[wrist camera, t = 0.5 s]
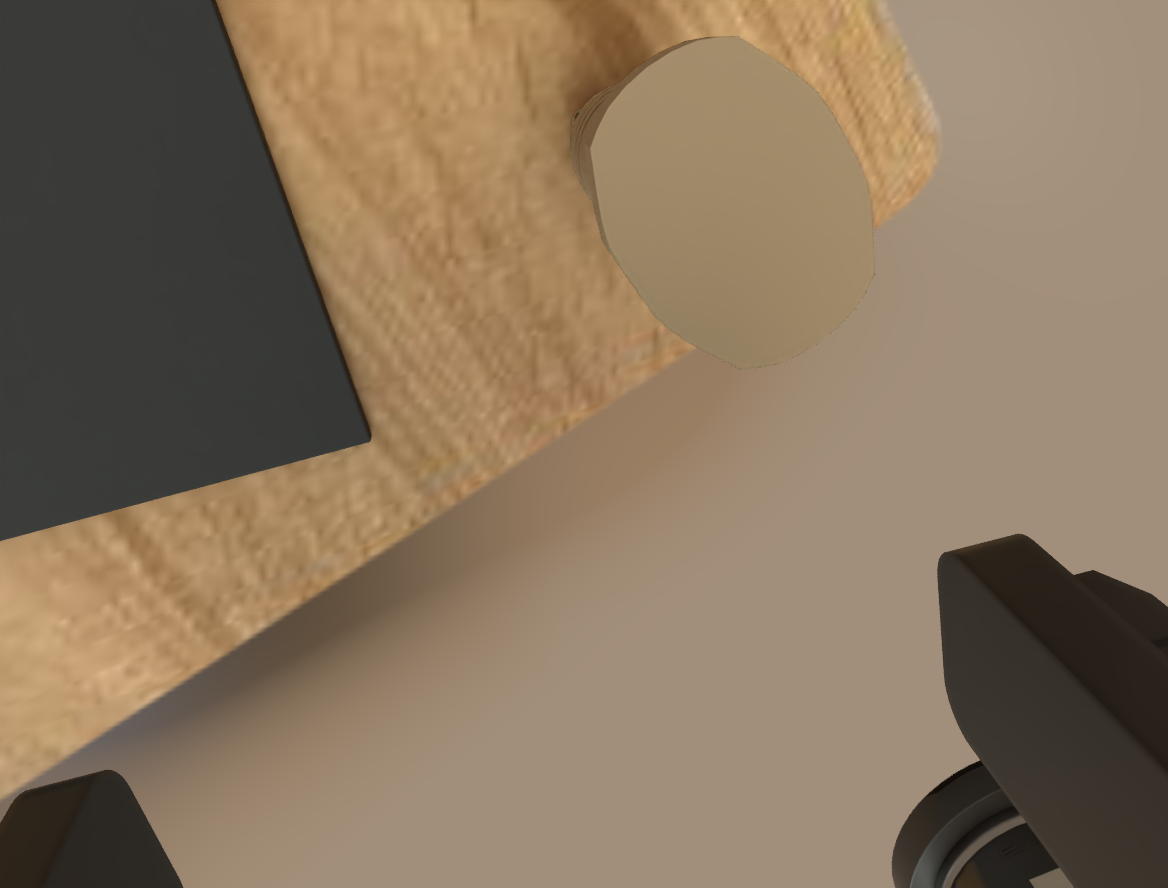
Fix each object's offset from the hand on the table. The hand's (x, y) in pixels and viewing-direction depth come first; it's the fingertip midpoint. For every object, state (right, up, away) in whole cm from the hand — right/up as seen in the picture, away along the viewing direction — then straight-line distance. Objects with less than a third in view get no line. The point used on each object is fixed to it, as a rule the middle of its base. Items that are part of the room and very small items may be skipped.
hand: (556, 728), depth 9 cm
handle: (+1, +13, +23) cm, 26 cm away
